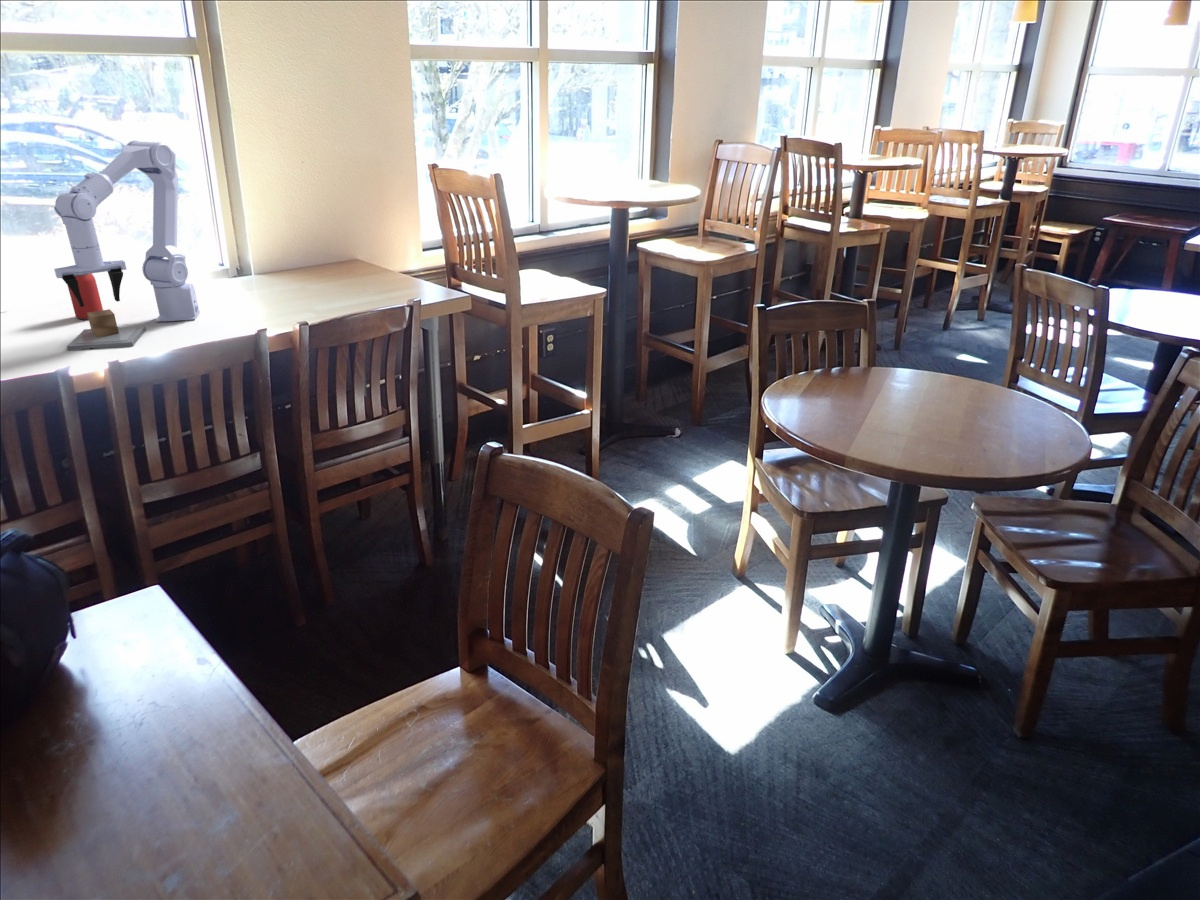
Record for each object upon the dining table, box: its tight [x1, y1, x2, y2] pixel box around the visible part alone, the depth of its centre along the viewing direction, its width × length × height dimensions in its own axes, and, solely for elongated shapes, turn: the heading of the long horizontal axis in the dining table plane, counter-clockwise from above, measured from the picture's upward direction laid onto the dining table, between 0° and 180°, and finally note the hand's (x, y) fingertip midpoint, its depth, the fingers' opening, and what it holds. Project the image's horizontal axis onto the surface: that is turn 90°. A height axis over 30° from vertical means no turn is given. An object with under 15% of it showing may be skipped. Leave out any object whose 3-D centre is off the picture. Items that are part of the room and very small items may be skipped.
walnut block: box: [87, 308, 119, 337], centre depth 205 cm, size 5×5×5 cm
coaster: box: [66, 325, 147, 351], centre depth 204 cm, size 14×14×1 cm
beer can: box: [67, 271, 104, 321], centre depth 220 cm, size 7×7×12 cm
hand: (99, 303), depth 201 cm, fingers open, 7 cm apart
